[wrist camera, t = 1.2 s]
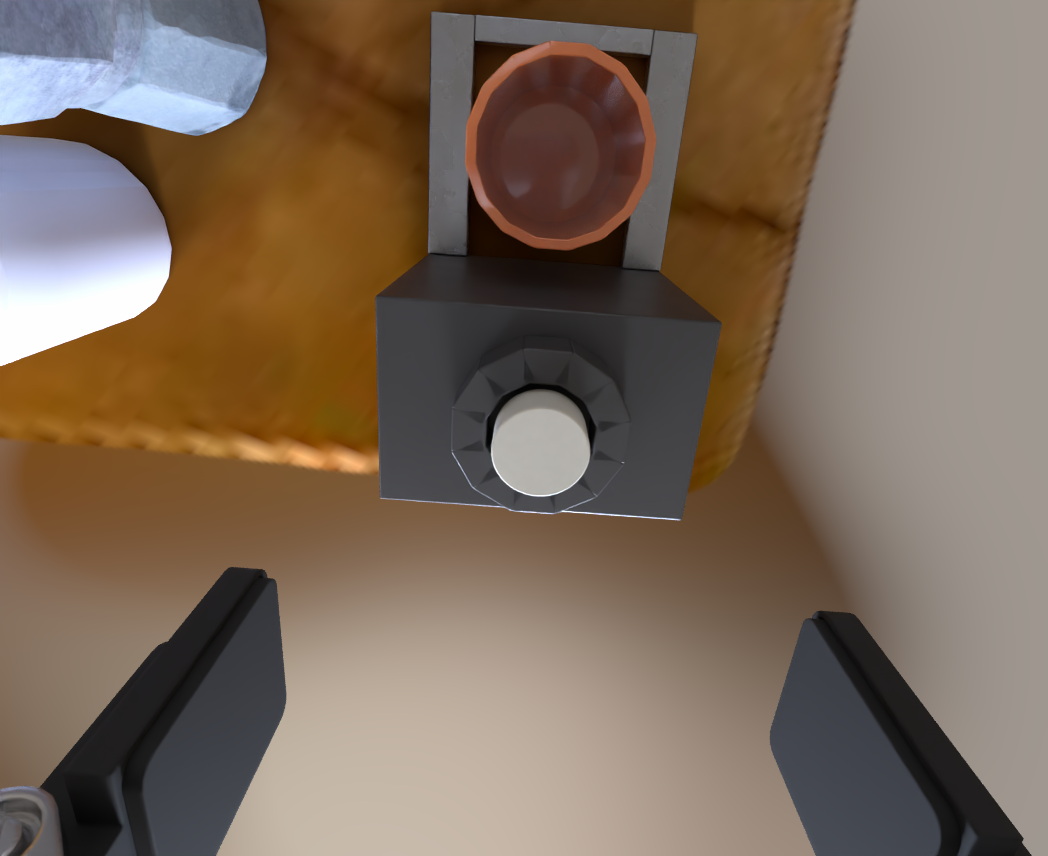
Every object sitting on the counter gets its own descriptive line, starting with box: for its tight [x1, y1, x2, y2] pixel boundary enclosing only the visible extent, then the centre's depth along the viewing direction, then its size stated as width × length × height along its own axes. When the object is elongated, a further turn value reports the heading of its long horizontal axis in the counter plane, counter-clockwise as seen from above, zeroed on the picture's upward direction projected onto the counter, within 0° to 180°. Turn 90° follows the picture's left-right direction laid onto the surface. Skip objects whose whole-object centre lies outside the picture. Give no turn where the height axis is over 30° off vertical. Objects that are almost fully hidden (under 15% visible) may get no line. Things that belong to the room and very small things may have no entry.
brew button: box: [491, 389, 590, 496], centre depth 20 cm, size 3×3×2 cm
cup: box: [465, 41, 656, 251], centre depth 26 cm, size 7×7×9 cm
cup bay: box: [428, 11, 698, 272], centre depth 30 cm, size 10×12×1 cm
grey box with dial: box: [375, 254, 722, 520], centre depth 27 cm, size 8×12×14 cm, turn 86°
